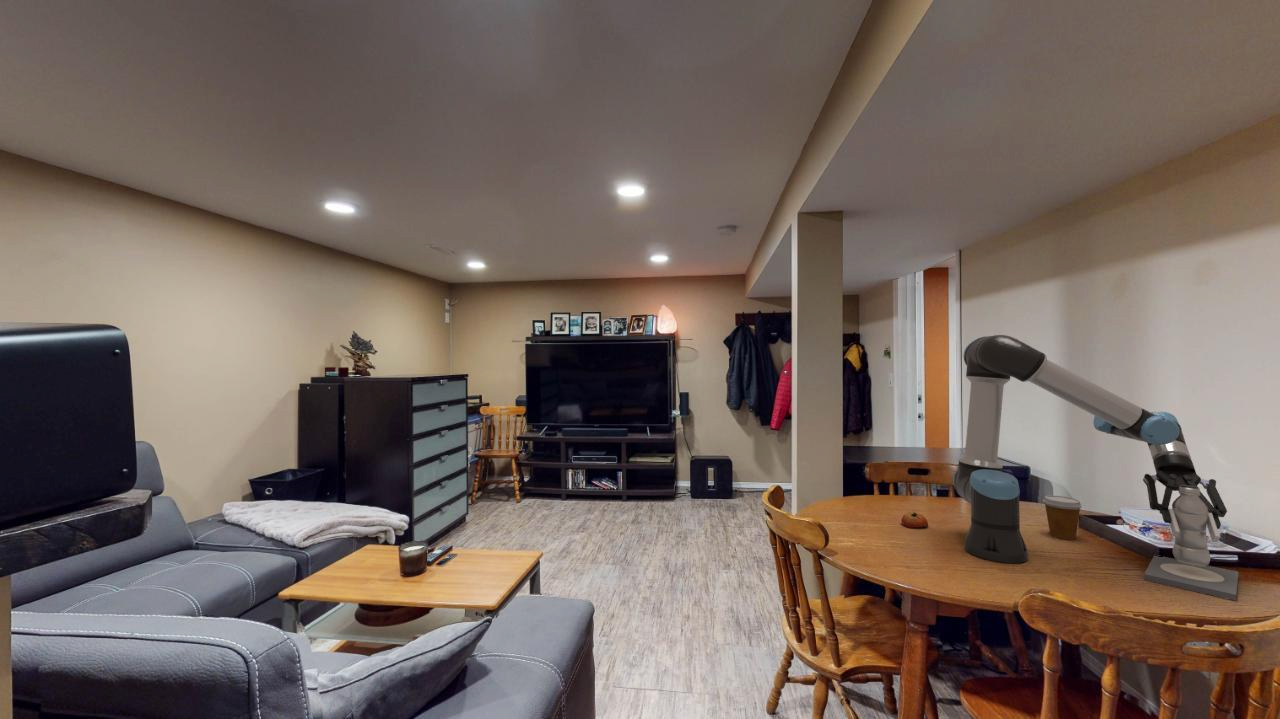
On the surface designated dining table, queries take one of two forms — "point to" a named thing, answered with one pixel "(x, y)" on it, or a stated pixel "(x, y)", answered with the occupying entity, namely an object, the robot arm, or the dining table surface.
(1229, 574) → the board
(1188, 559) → the plastic bottle
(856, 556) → the dining table surface
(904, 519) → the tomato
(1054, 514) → the disposable coffee cup
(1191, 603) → the dining table surface
